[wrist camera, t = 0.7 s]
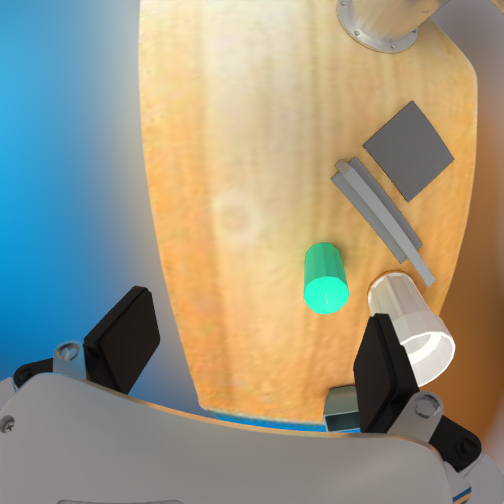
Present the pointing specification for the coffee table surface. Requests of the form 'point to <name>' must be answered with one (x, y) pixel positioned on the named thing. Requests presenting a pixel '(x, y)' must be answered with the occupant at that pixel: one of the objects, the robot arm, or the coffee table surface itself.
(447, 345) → the cup
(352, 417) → the flower pot
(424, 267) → the board
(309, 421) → the coffee table surface
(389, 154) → the mat
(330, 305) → the candle
